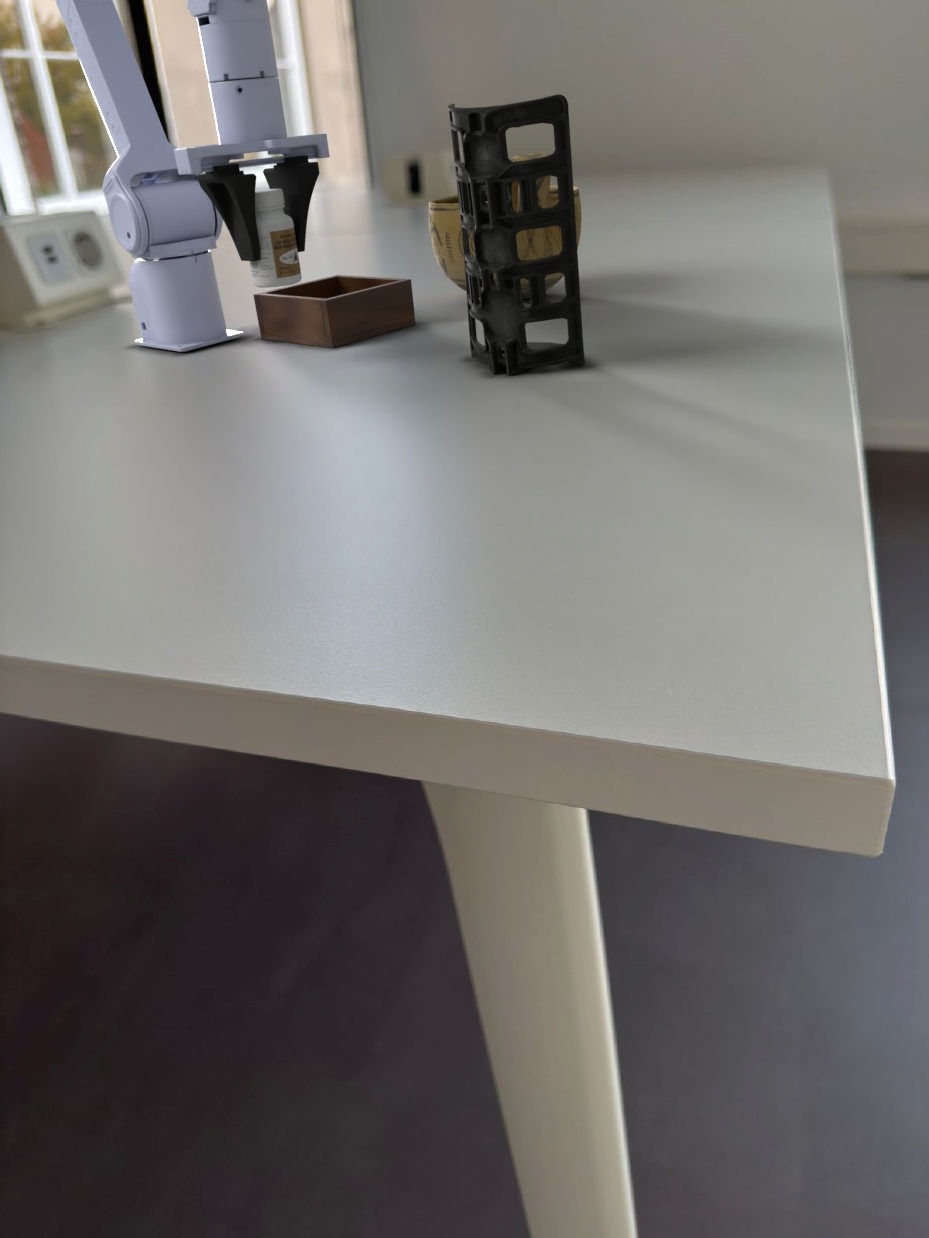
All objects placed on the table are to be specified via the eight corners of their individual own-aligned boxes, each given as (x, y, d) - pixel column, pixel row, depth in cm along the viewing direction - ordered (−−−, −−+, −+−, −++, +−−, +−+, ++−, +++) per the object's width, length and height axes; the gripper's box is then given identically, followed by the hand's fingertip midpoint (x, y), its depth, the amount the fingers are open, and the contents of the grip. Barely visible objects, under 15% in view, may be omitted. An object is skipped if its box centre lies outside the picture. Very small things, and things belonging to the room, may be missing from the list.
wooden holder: (260, 338, 99) (252, 294, 97) (343, 316, 106) (337, 274, 104) (332, 348, 92) (325, 300, 90) (415, 323, 99) (411, 279, 97)
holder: (602, 350, 80) (586, 85, 69) (573, 382, 75) (551, 100, 64) (484, 350, 85) (452, 101, 74) (449, 380, 79) (408, 116, 68)
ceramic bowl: (613, 302, 100) (612, 145, 93) (459, 323, 97) (445, 163, 90) (550, 275, 119) (545, 143, 112) (419, 291, 117) (405, 157, 110)
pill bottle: (292, 287, 83) (276, 191, 79) (245, 289, 84) (228, 195, 80) (309, 278, 86) (295, 186, 83) (265, 281, 87) (249, 190, 84)
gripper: (195, 81, 70) (231, 271, 77) (342, 73, 79) (363, 244, 86) (146, 88, 75) (184, 268, 81) (290, 80, 84) (314, 242, 90)
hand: (273, 256), depth 84 cm, fingers closed on pill bottle, 4 cm apart
